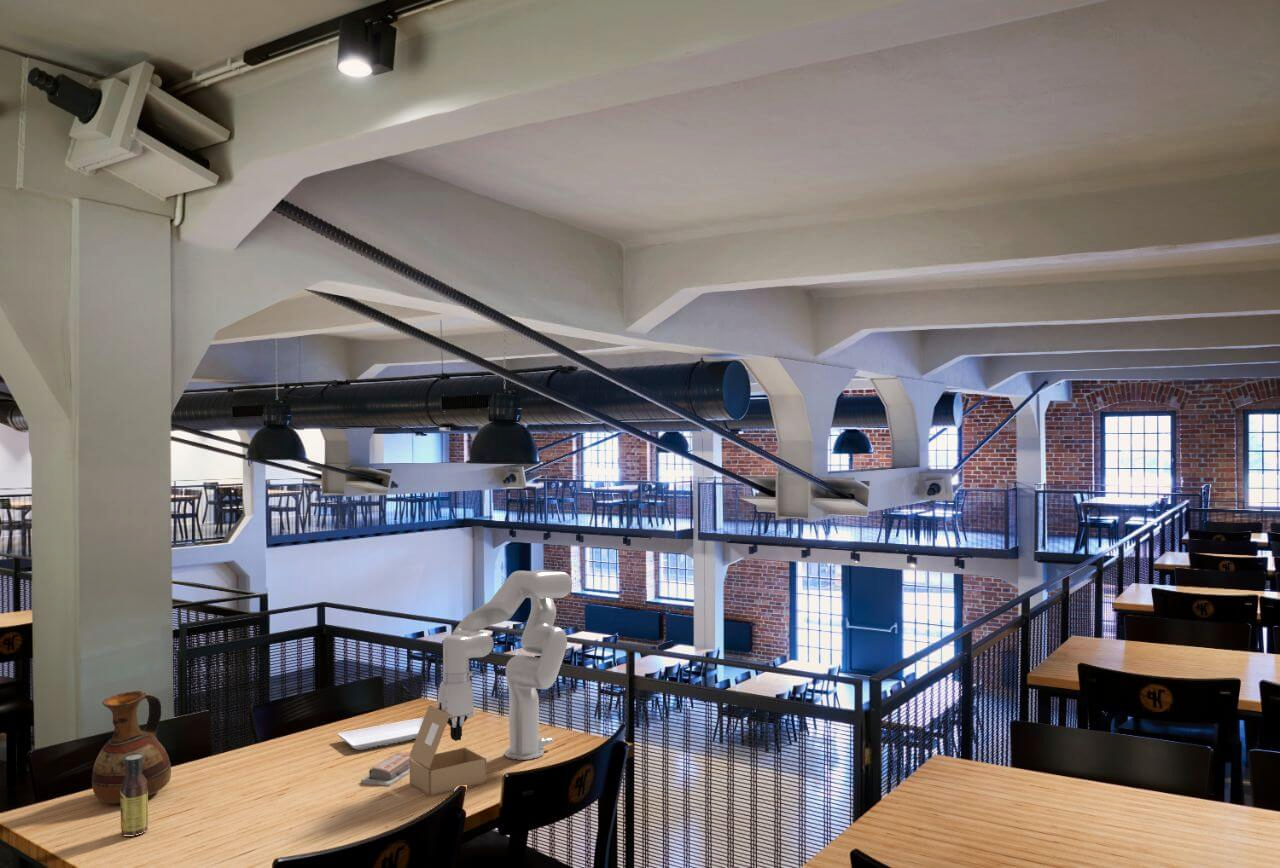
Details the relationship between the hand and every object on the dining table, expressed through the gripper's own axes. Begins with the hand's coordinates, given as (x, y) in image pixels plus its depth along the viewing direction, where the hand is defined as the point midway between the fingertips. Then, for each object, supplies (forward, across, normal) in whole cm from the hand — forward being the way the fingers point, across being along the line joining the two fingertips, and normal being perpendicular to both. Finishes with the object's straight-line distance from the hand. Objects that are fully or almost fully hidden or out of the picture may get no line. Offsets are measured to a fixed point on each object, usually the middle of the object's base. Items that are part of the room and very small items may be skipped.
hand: (456, 739), depth 277 cm
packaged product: (+13, +13, -18) cm, 26 cm away
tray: (+13, -1, -53) cm, 54 cm away
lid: (-2, +7, 0) cm, 7 cm away
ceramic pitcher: (+13, +78, -48) cm, 93 cm away
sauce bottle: (+13, +83, -17) cm, 85 cm away
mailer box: (+12, +3, 0) cm, 13 cm away
